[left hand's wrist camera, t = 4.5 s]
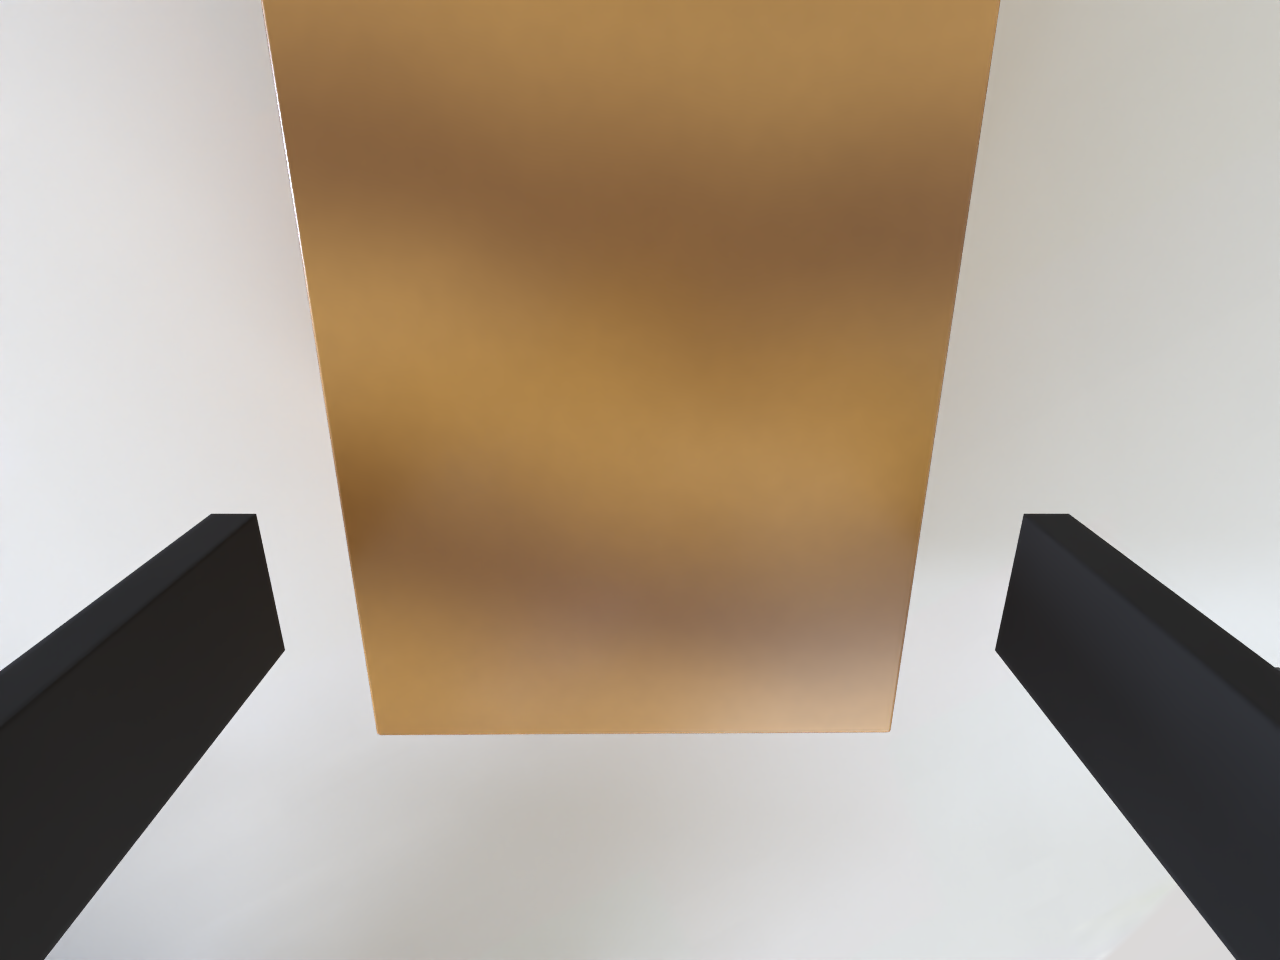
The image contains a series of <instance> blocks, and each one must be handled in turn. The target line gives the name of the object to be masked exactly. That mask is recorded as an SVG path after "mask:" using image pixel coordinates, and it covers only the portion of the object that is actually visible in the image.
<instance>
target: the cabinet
mask: <svg viewBox="0 0 1280 960" xmlns="http://www.w3.org/2000/svg"><path fill="white" fill-rule="evenodd" d="M261 3H262V10H263V16H264V22H265V29H266V35H267V41H268V47H269V54H270V60H271V66H272V73H273V79H274V85H275V92H276V98H277V104H278V111H279V117H280V123H281V130H282V136H283V142H284V148H285V155H286V161H287V167H288V174H289V180H290V186H291V193H292V199H293V205H294V212H295V218H296V224H297V230H298V237H299V243H300V249H301V256H302V262H303V268H304V275H305V281H306V287H307V294H308V300H309V306H310V313H311V319H312V325H313V331H314V338H315V344H316V350H317V357H318V363H319V369H320V376H321V382H322V388H323V395H324V401H325V407H326V413H327V420H328V426H329V432H330V439H331V445H332V451H333V458H334V464H335V470H336V477H337V483H338V489H339V496H340V502H341V508H342V514H343V521H344V527H345V533H346V540H347V546H348V552H349V559H350V565H351V571H352V578H353V584H354V590H355V596H356V603H357V609H358V615H359V622H360V628H361V634H362V641H363V647H364V653H365V660H366V666H367V672H368V679H369V685H370V691H371V697H372V704H373V710H374V716H375V723H376V729H377V734H379V735H472V734H655V733H837V732H890V729H891V723H892V716H893V709H894V703H895V696H896V690H897V683H898V676H899V670H900V663H901V656H902V650H903V643H904V636H905V630H906V623H907V616H908V610H909V603H910V597H911V590H912V583H913V577H914V570H915V563H916V557H917V550H918V543H919V537H920V530H921V524H922V517H923V510H924V504H925V497H926V490H927V484H928V477H929V470H930V464H931V457H932V450H933V444H934V437H935V431H936V424H937V417H938V411H939V404H940V397H941V391H942V384H943V377H944V371H945V364H946V358H947V351H948V344H949V338H950V331H951V324H952V318H953V311H954V304H955V298H956V291H957V284H958V278H959V271H960V265H961V258H962V251H963V245H964V238H965V231H966V225H967V218H968V211H969V205H970V198H971V191H972V185H973V178H974V172H975V165H976V158H977V152H978V145H979V138H980V132H981V125H982V118H983V112H984V105H985V99H986V92H987V85H988V79H989V72H990V65H991V59H992V52H993V45H994V39H995V32H996V25H997V19H998V12H999V6H1000V0H261Z"/></svg>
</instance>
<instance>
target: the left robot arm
mask: <svg viewBox="0 0 1280 960" xmlns="http://www.w3.org/2000/svg"><path fill="white" fill-rule="evenodd" d="M284 651H285V648H284V643H283V639H282V634H281V629H280V624H279V620H278V615H277V610H276V606H275V601H274V596H273V591H272V587H271V582H270V577H269V572H268V568H267V563H266V558H265V554H264V549H263V544H262V539H261V535H260V530H259V525H258V520H257V516H256V514H210V515H209V516H208V517H206V518H205V519H204V520H202V521H201V522H200V523H198V524H197V525H196V526H194V527H193V528H192V529H190V530H189V531H188V532H186V533H185V534H184V535H182V536H181V537H180V538H178V539H177V540H176V541H174V542H173V543H172V544H170V545H169V546H168V547H166V548H165V549H164V550H162V551H161V552H160V553H158V554H157V555H155V556H154V557H153V558H151V559H150V560H149V561H147V562H146V563H145V564H143V565H142V566H141V567H139V568H138V569H137V570H135V571H134V572H133V573H131V574H130V575H129V576H127V577H126V578H125V579H123V580H122V581H121V582H119V583H118V584H117V585H115V586H114V587H113V588H111V589H110V590H109V591H107V592H106V593H105V594H103V595H102V596H100V597H99V598H98V599H96V600H95V601H94V602H92V603H91V604H90V605H88V606H87V607H86V608H84V609H83V610H82V611H80V612H79V613H78V614H76V615H75V616H74V617H72V618H71V619H70V620H68V621H67V622H66V623H64V624H63V625H62V626H60V627H59V628H58V629H56V630H55V631H54V632H52V633H51V634H50V635H48V636H47V637H46V638H44V639H43V640H41V641H40V642H39V643H37V644H36V645H35V646H33V647H32V648H31V649H29V650H28V651H27V652H25V653H24V654H23V655H21V656H20V657H19V658H17V659H16V660H15V661H13V662H12V663H11V664H9V665H8V666H7V667H5V668H4V669H3V670H1V671H0V960H44V959H45V958H46V956H47V955H48V954H49V952H50V951H51V950H52V949H53V947H54V946H55V945H56V943H57V942H58V941H59V940H60V938H61V937H62V936H63V934H64V933H65V932H66V931H67V929H68V928H69V927H70V926H71V924H72V923H73V922H74V920H75V919H76V918H77V917H78V915H79V914H80V913H81V911H82V910H83V909H84V908H85V906H86V905H87V904H88V902H89V901H90V900H91V899H92V897H93V896H94V895H95V893H96V892H97V891H98V890H99V888H100V887H101V886H102V884H103V883H104V882H105V881H106V879H107V878H108V877H109V875H110V874H111V873H112V872H113V870H114V869H115V868H116V866H117V865H118V864H119V863H120V861H121V860H122V859H123V857H124V856H125V855H126V854H127V852H128V851H129V850H130V848H131V847H132V846H133V845H134V843H135V842H136V841H137V839H138V838H139V837H140V836H141V834H142V833H143V832H144V830H145V829H146V828H147V827H148V825H149V824H150V823H151V821H152V820H153V819H154V818H155V816H156V815H157V814H158V813H159V811H160V810H161V809H162V807H163V806H164V805H165V804H166V802H167V801H168V800H169V798H170V797H171V796H172V795H173V793H174V792H175V791H176V789H177V788H178V787H179V786H180V784H181V783H182V782H183V780H184V779H185V778H186V777H187V775H188V774H189V773H190V771H191V770H192V769H193V768H194V766H195V765H196V764H197V762H198V761H199V760H200V759H201V757H202V756H203V755H204V753H205V752H206V751H207V750H208V748H209V747H210V746H211V744H212V743H213V742H214V741H215V739H216V738H217V737H218V735H219V734H220V733H221V732H222V730H223V729H224V728H225V726H226V725H227V724H228V723H229V721H230V720H231V719H232V717H233V716H234V715H235V714H236V712H237V711H238V710H239V708H240V707H241V706H242V705H243V703H244V702H245V701H246V700H247V698H248V697H249V696H250V694H251V693H252V692H253V691H254V689H255V688H256V687H257V685H258V684H259V683H260V682H261V680H262V679H263V678H264V676H265V675H266V674H267V673H268V671H269V670H270V669H271V667H272V666H273V665H274V664H275V662H276V661H277V660H278V658H279V657H280V656H281V655H282V653H283V652H284ZM995 651H996V652H997V653H998V655H999V656H1000V657H1001V658H1002V660H1003V661H1004V662H1005V664H1006V665H1007V666H1008V667H1009V669H1010V670H1011V671H1012V673H1013V674H1014V675H1015V676H1016V678H1017V679H1018V680H1019V682H1020V683H1021V684H1022V685H1023V687H1024V688H1025V689H1026V691H1027V692H1028V693H1029V694H1030V696H1031V697H1032V698H1033V700H1034V701H1035V702H1036V703H1037V705H1038V706H1039V707H1040V708H1041V710H1042V711H1043V712H1044V714H1045V715H1046V716H1047V717H1048V719H1049V720H1050V721H1051V723H1052V724H1053V725H1054V726H1055V728H1056V729H1057V730H1058V732H1059V733H1060V734H1061V735H1062V737H1063V738H1064V739H1065V741H1066V742H1067V743H1068V744H1069V746H1070V747H1071V748H1072V750H1073V751H1074V752H1075V753H1076V755H1077V756H1078V757H1079V759H1080V760H1081V761H1082V762H1083V764H1084V765H1085V766H1086V768H1087V769H1088V770H1089V771H1090V773H1091V774H1092V775H1093V777H1094V778H1095V779H1096V780H1097V782H1098V783H1099V784H1100V786H1101V787H1102V788H1103V789H1104V791H1105V792H1106V793H1107V795H1108V796H1109V797H1110V798H1111V800H1112V801H1113V802H1114V804H1115V805H1116V806H1117V807H1118V809H1119V810H1120V811H1121V813H1122V814H1123V815H1124V816H1125V818H1126V819H1127V820H1128V821H1129V823H1130V824H1131V825H1132V827H1133V828H1134V829H1135V830H1136V832H1137V833H1138V834H1139V836H1140V837H1141V838H1142V839H1143V841H1144V842H1145V843H1146V845H1147V846H1148V847H1149V848H1150V850H1151V851H1152V852H1153V854H1154V855H1155V856H1156V857H1157V859H1158V860H1159V861H1160V863H1161V864H1162V865H1163V866H1164V868H1165V869H1166V870H1167V872H1168V873H1169V874H1170V875H1171V877H1172V878H1173V879H1174V881H1175V882H1176V883H1177V884H1178V886H1179V887H1180V888H1181V890H1182V891H1183V892H1184V893H1185V895H1186V896H1187V897H1188V898H1189V900H1190V901H1191V902H1192V904H1193V905H1194V906H1195V908H1196V909H1197V910H1198V911H1199V913H1200V914H1201V915H1202V917H1203V918H1204V919H1205V920H1206V922H1207V923H1208V924H1209V926H1210V927H1211V928H1212V929H1213V931H1214V932H1215V933H1216V934H1217V936H1218V937H1219V938H1220V940H1221V941H1222V942H1223V943H1224V945H1225V946H1226V947H1227V949H1228V950H1229V951H1230V952H1231V954H1232V955H1233V956H1234V958H1235V959H1236V960H1280V668H1279V667H1273V666H1272V665H1271V664H1269V663H1268V662H1267V661H1265V660H1264V659H1263V658H1261V657H1260V656H1259V655H1257V654H1256V653H1255V652H1253V651H1252V650H1251V649H1249V648H1248V647H1247V646H1245V645H1244V644H1243V643H1241V642H1240V641H1239V640H1237V639H1236V638H1234V637H1233V636H1232V635H1230V634H1229V633H1228V632H1226V631H1225V630H1224V629H1222V628H1221V627H1220V626H1218V625H1217V624H1216V623H1214V622H1213V621H1212V620H1210V619H1209V618H1208V617H1206V616H1205V615H1204V614H1202V613H1201V612H1200V611H1198V610H1197V609H1196V608H1194V607H1193V606H1192V605H1190V604H1189V603H1188V602H1186V601H1185V600H1184V599H1182V598H1181V597H1180V596H1178V595H1177V594H1175V593H1174V592H1173V591H1171V590H1170V589H1169V588H1167V587H1166V586H1165V585H1163V584H1162V583H1161V582H1159V581H1158V580H1157V579H1155V578H1154V577H1153V576H1151V575H1150V574H1149V573H1147V572H1146V571H1145V570H1143V569H1142V568H1141V567H1139V566H1138V565H1137V564H1135V563H1134V562H1133V561H1131V560H1130V559H1129V558H1127V557H1126V556H1125V555H1123V554H1122V553H1120V552H1119V551H1118V550H1116V549H1115V548H1114V547H1112V546H1111V545H1110V544H1108V543H1107V542H1106V541H1104V540H1103V539H1102V538H1100V537H1099V536H1098V535H1096V534H1095V533H1094V532H1092V531H1091V530H1090V529H1088V528H1087V527H1086V526H1084V525H1083V524H1082V523H1080V522H1079V521H1078V520H1076V519H1075V518H1074V517H1072V516H1071V515H1070V514H1024V516H1023V520H1022V525H1021V530H1020V535H1019V539H1018V544H1017V549H1016V554H1015V558H1014V563H1013V568H1012V572H1011V577H1010V582H1009V587H1008V591H1007V596H1006V601H1005V606H1004V610H1003V615H1002V620H1001V624H1000V629H999V634H998V639H997V643H996V648H995Z"/></svg>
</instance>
